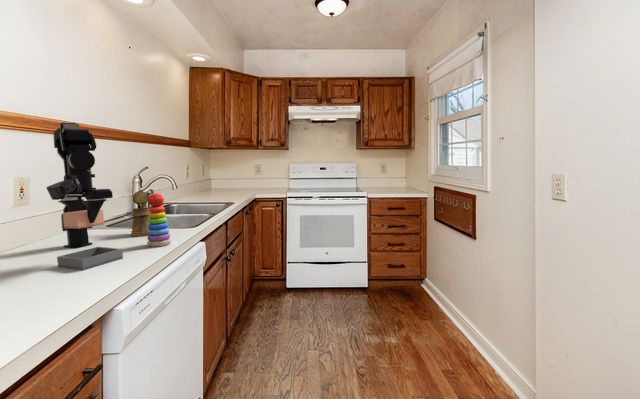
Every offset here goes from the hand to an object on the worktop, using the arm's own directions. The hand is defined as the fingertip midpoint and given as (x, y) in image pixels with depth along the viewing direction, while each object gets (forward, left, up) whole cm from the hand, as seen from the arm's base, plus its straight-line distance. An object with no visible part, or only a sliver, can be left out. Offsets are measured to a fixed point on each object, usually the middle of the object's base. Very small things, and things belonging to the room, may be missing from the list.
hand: (84, 222), depth 103 cm
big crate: (+3, -1, -12) cm, 12 cm away
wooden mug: (-18, +37, -12) cm, 43 cm away
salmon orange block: (0, 0, -1) cm, 1 cm away
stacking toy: (+5, +23, -12) cm, 26 cm away
